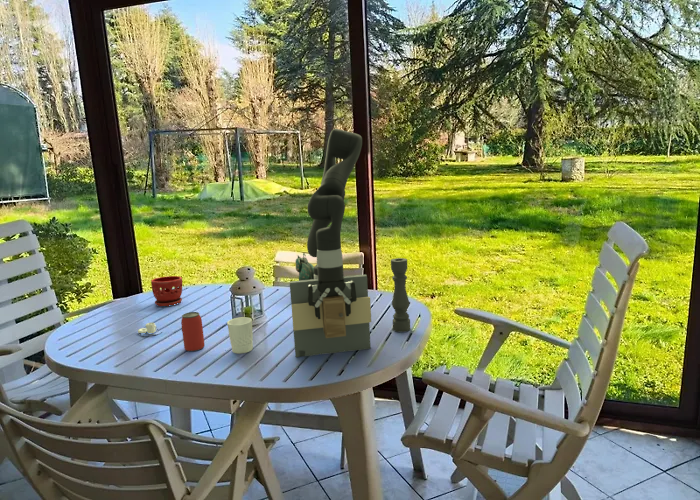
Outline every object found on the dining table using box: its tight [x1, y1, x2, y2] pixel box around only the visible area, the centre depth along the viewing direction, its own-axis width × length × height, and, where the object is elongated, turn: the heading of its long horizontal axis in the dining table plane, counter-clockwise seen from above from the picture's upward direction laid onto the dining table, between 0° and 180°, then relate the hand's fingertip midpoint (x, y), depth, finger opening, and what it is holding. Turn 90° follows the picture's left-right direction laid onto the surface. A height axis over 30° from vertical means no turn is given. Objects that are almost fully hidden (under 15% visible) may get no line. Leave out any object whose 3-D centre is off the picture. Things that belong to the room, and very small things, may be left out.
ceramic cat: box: [295, 252, 315, 281], centre depth 219 cm, size 20×6×20 cm, turn 23°
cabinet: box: [322, 296, 346, 338], centre depth 146 cm, size 10×6×12 cm, turn 9°
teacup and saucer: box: [137, 322, 158, 334], centre depth 183 cm, size 9×8×4 cm
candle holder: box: [390, 257, 411, 333], centre depth 170 cm, size 6×6×25 cm
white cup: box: [226, 316, 254, 355], centre depth 161 cm, size 8×8×10 cm
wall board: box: [289, 274, 372, 358], centre depth 154 cm, size 12×24×24 cm, turn 99°
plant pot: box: [150, 275, 183, 307], centre depth 220 cm, size 13×13×12 cm
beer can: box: [180, 311, 205, 352], centre depth 164 cm, size 7×7×12 cm
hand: (333, 316), depth 145 cm, fingers open, 8 cm apart
